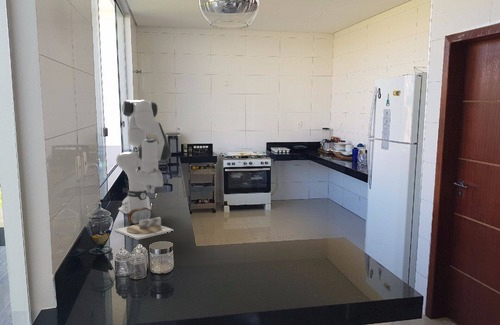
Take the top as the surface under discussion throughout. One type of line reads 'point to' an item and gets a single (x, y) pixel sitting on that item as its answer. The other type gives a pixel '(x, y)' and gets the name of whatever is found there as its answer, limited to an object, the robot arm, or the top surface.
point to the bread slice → (139, 215)
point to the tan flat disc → (146, 226)
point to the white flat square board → (141, 236)
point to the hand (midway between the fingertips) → (150, 192)
